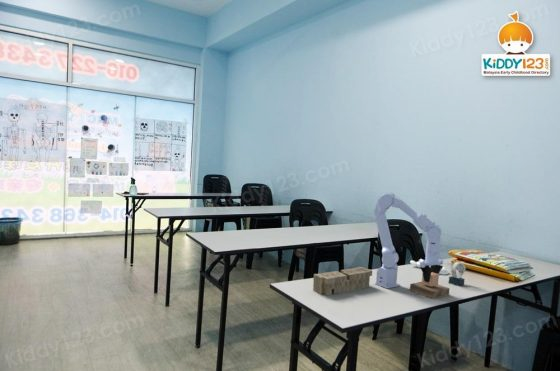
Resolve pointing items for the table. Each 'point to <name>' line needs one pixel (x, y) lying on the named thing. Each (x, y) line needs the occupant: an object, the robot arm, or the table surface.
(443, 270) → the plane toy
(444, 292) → the base block
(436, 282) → the cube
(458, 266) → the watch
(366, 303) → the table surface
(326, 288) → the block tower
